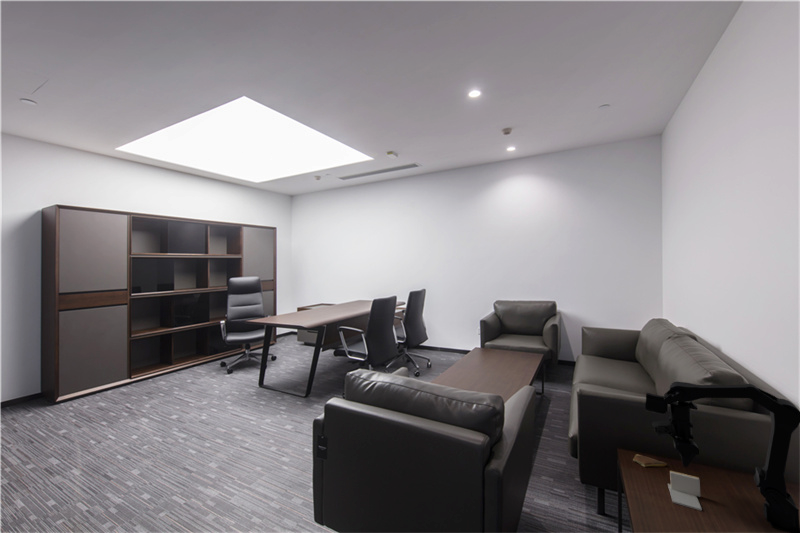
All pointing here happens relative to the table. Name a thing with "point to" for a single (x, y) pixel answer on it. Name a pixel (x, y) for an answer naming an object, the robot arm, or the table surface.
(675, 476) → the card
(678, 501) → the mat
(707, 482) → the table surface
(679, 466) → the table surface
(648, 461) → the shard
